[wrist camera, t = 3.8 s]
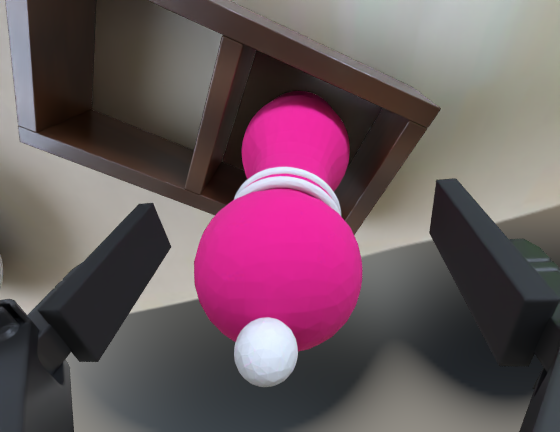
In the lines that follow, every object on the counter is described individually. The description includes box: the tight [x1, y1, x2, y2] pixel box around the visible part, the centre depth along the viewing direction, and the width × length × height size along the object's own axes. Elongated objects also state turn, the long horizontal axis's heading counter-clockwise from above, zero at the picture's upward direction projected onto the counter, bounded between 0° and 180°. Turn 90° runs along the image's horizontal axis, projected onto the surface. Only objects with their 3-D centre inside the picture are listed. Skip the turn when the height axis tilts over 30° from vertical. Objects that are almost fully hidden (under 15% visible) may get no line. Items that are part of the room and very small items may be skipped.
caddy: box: [5, 0, 441, 234], centre depth 21 cm, size 12×24×6 cm, turn 68°
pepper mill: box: [194, 91, 362, 387], centre depth 16 cm, size 7×7×20 cm
